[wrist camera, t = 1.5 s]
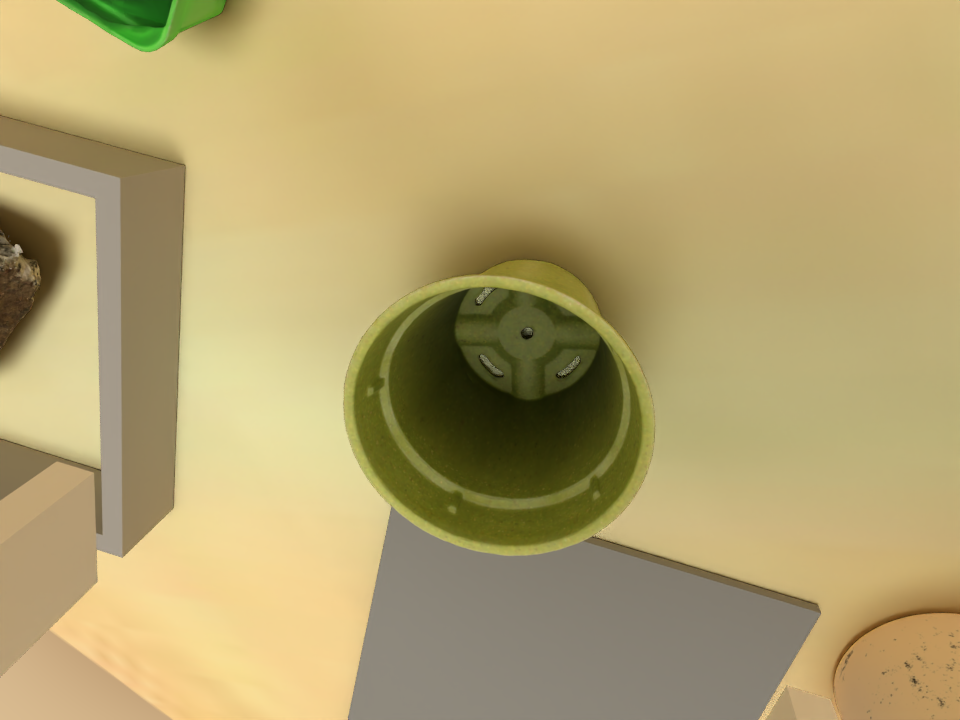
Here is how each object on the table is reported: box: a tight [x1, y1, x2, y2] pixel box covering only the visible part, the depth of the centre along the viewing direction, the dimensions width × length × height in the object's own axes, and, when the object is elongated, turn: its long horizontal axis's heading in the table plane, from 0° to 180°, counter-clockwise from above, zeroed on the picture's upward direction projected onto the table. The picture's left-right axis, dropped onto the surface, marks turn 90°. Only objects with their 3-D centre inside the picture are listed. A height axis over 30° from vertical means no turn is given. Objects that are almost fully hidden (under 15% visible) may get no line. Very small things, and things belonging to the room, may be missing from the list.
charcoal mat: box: [348, 507, 821, 720], centre depth 35 cm, size 20×20×1 cm
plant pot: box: [343, 260, 655, 556], centre depth 24 cm, size 9×9×9 cm
